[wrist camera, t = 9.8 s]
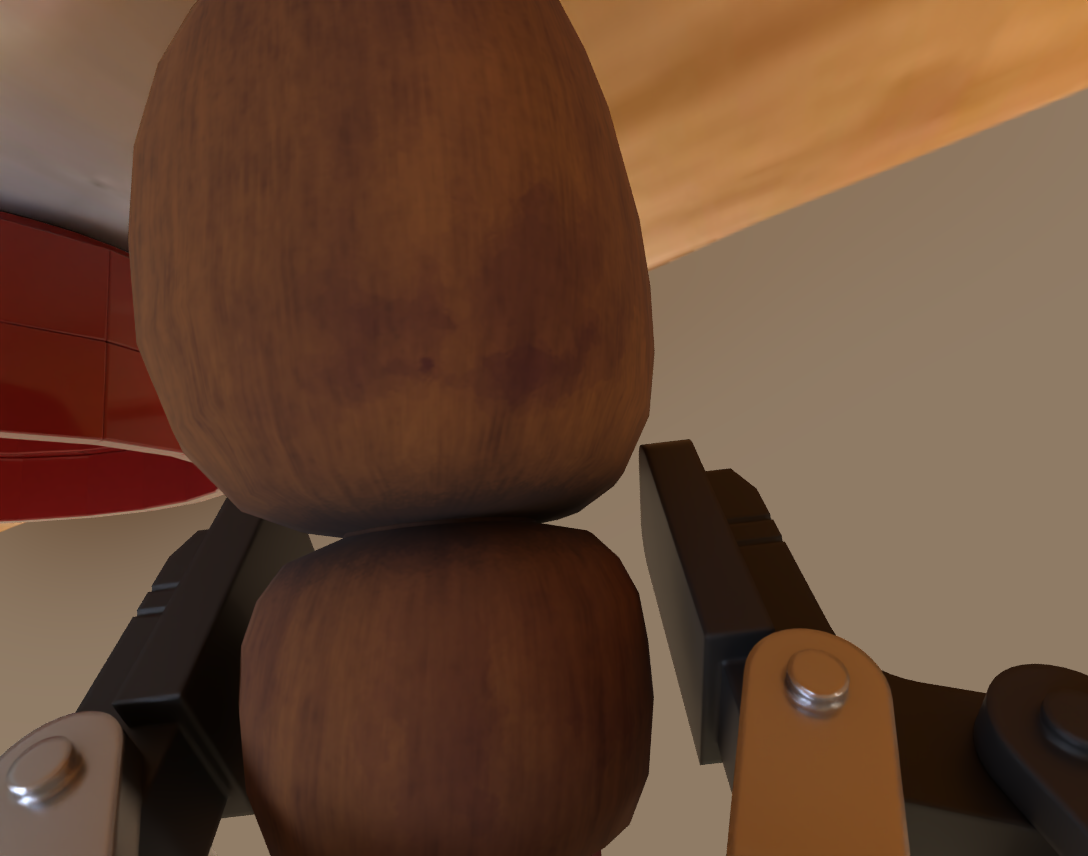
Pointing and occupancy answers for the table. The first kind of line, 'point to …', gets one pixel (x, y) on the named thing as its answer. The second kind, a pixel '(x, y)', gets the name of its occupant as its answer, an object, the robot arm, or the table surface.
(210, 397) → the wooden figurine
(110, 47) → the table surface
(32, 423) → the bowl
